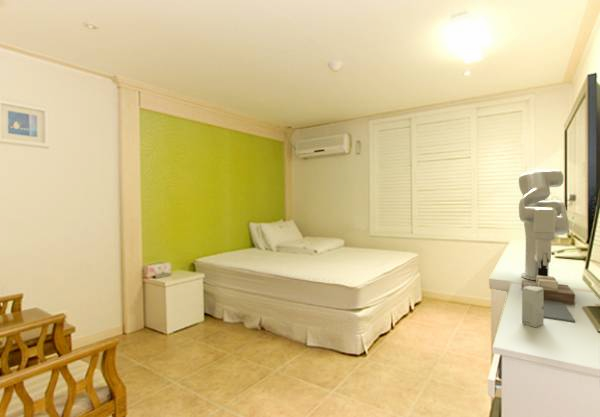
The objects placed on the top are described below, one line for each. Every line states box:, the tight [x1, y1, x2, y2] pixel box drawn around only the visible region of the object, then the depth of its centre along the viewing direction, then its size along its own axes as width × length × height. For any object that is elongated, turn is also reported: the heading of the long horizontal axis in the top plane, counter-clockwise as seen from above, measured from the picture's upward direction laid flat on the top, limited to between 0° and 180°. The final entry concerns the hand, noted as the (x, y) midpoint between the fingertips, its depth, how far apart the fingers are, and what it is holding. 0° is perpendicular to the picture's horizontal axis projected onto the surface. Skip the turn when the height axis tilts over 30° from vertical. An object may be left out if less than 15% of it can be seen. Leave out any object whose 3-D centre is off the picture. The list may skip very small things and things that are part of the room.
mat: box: [543, 300, 576, 323], centre depth 120 cm, size 20×12×1 cm, turn 150°
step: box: [520, 279, 576, 306], centre depth 135 cm, size 14×16×4 cm
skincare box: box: [521, 286, 544, 328], centre depth 108 cm, size 6×4×12 cm
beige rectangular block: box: [535, 275, 559, 291], centre depth 134 cm, size 9×6×4 cm, turn 150°
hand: (542, 277), depth 144 cm, fingers closed
